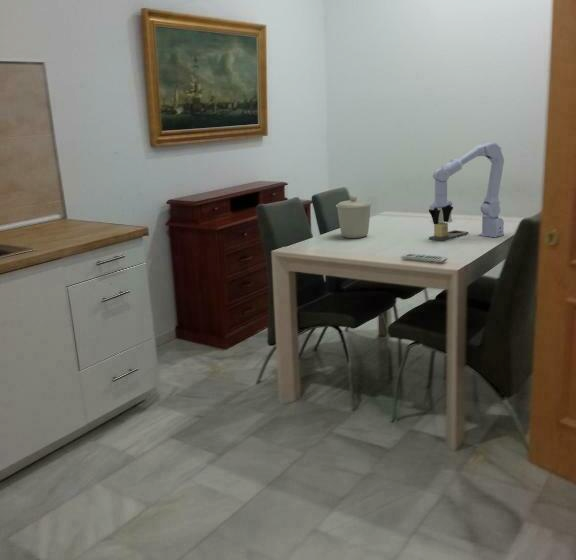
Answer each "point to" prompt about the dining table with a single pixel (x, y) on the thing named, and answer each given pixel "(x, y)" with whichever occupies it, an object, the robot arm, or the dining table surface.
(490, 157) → the robot arm
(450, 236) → the grey frame plate
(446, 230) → the block
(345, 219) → the canister
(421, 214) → the dining table surface
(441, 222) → the can
